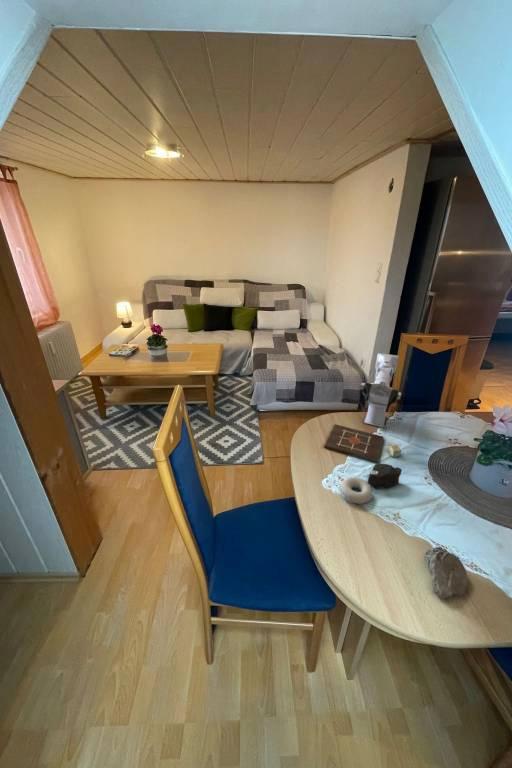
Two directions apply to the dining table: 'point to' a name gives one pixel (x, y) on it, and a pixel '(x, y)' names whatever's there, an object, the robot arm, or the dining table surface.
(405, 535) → the dining table surface
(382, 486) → the mineral
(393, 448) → the alphabet block
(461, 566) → the brown rock
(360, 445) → the board
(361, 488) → the donut
